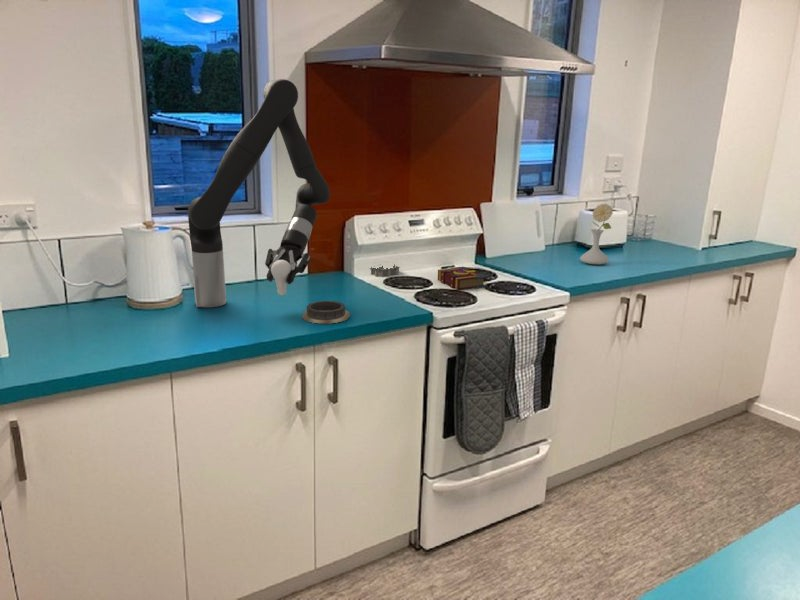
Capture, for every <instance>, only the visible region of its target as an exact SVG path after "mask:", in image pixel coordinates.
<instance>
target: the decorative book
mask: <svg viewBox="0 0 800 600" xmlns="http://www.w3.org/2000/svg"><path fill="white" fill-rule="evenodd" d="M486 277H487V276H486V275H485V274H482V273H478V272H477V270H473V269H472V270H470V268H468V267H465V266H458V267H452V268H443V269H442V268H441V269H437V281H439V282H440V284H443V285H447V286H449V288H451V289H455V290H458V291H461V290H470V289H482V288H483V289H484V288H486V285H485V284H484V281H485V280H484V279H487V278H486Z"/></svg>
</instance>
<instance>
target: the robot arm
mask: <svg viewBox="0 0 800 600" xmlns="http://www.w3.org/2000/svg"><path fill="white" fill-rule="evenodd" d="M262 94H263V102H262V103H261V105H260V107H259V109H258V110H257V111H256V114H255V115H254V116H253V117H252V118H251V120H249V122H247V124H245V125H244V126H243V127H242V129H240V131H239V132H238V133H237V134H236V135H235V137H234V139H232V141H231V142H230V145H229V146H228V148H227V149H226V150H225V153H224V154H223V156H222V158H221V160H220V162H219V165H218V168H217V170H216V173H215V175H214V177H213V179H212V181H211V182H210V184H209V186H208V187H207V189H206V190H205V191H204V192H203V194H202V195H201V196H198V197H195V198H194V199H192V201H191V202H190V203H189V204H188V207H187V221H188V230H189V240H190V245H191V257H192V271H193V272H192V273H193V274H192V277H193V289H194V290H193V291H194V301H195V307H196V308H217V307H221V306H223V305H226V304H227V292H226V291H227V290H226V276H225V275H226V274H225V263H224V249H223V248H224V247H223V246H224V245H223V239H222V233H221V221H222V219H223V217H224V215H225V213H226V211H227V210H228V209H227V208H228V206H229V205H230V203H231V201H232V199H233V197H234V196H235V194H236V192H238V190H239V189H240V188H241V186H242V185H243V183H244V182H245V181H246V179H247V178H248V177H249V175H250V174H251V172H252V171H253V170H254V168H255V166H256V165H257V163H258V162H259V161H260V159H261V157H262V155H263V153H264V152H265V150H266V148H267V147H268V145H269V143H270V142H271V140H272V138H273V136H274V134H275V132H276V131H277V129H279V131H280V134H281V137H282V140H283V143H284V146H285V147H286V150H287V154H288V156H289V159H290V163H291V166H292V169H293V171H294V173H295V176H296V178H299V179H304V180H306V182H307V183H304V184H302V185H300V186H299V188H298V189H297V191H296V197H295V207H294V208H295V209H294V212H293V215H292V217H291V219H290V221H289V222H288V225H287V227H286V228H285V229H286V230H285V231H284V234H283V236H282V239H281V241H280V246H279V247H278V248H277V250H274V249H272V248H268V250H267V254H266V259H265V261H264V265H265V266H266V268H267V269H268V270H267V271H268V272H267V274H266V279H267V281H268V282H270V283H272V282H273V281H274V277H273V275H272V273H271V267H272V265H273V263H274V262H276V261H277V260H285V261H287V262H288V263H289V264H290V265H291V271H290V273H289V274H288V276H287V279H286V282H287V285H291V284H292V283H294V281H295V278H296V275H297V274H299V273H300V274H303V273H304V272H305V271H306V268H307V266H308V265H309V263H310V262H311V260H312V258H311V256H310V254H309V253H308V252H305V250H306V247H307V245H308V242H309V240H310V237H311V234H312V230H313V227H314V224H315V223H316V222H315V221H316V219H317V216H318V213H317V210H316V208H314V207H313V206H316V205H323V204H326V203H327V202H329V200H330V198H331V191H330V188H329V185H328V182H327V181H326V180H325V178H324V176H323V175H322V173H321V172H320V169H318V168H317V165H316V162H315V159H314V155H313V153H312V150H311V148H310V144H309V143H308V141H307V139H306V136H305V135H304V133H303V131H302V129H301V128H300V125H299V123H298V120H297V116H296V113H295V107H296V105H297V102H298V100H299V91H298V87H297V86H296V85H295V84H294V82H292V81H290V80H288V79H285V78H280V79H279V78H278V79H273V80H271V81H269V82H267V83H266V85H265V87H264V89H263V93H262ZM304 252H305V253H304ZM298 261H300V262H299V263H298Z"/></svg>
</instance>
